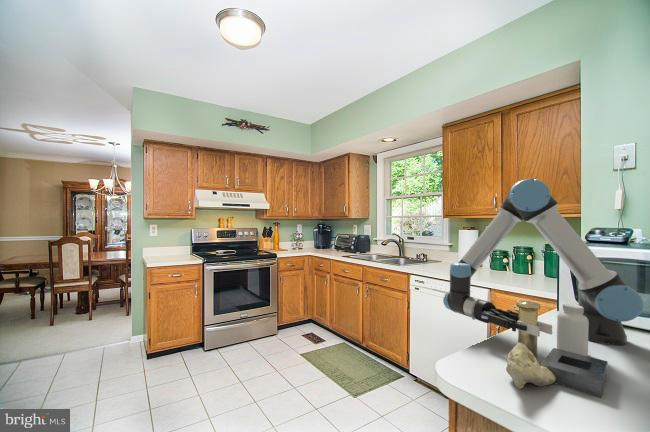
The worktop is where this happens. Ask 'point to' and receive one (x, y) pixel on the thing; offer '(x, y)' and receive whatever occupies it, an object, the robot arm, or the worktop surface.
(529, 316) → the brass flanged peg
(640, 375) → the worktop surface
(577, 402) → the worktop surface
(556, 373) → the block
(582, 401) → the worktop surface
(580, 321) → the pill bottle
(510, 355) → the beige rock
